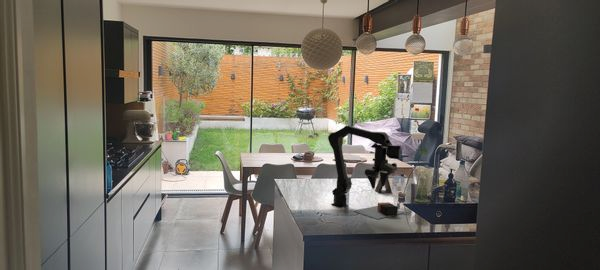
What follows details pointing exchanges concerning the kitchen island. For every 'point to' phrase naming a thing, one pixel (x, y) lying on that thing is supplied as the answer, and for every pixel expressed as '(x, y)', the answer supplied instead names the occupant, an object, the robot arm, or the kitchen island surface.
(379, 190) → the brown a-shaped stand
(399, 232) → the kitchen island surface
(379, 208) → the battery
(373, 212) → the mat
